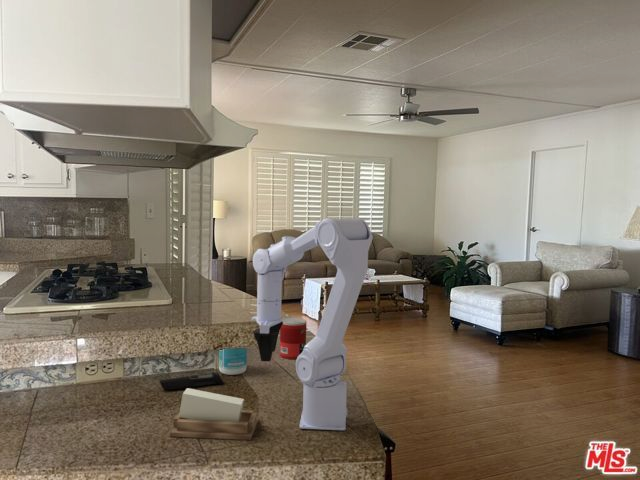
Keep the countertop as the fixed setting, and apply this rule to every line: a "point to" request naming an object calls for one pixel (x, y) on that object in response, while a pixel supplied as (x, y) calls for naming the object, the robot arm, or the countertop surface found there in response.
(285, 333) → the canned food
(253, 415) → the tray
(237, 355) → the pill bottle
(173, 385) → the electric trimmer
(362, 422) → the countertop surface
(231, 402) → the clay strip
